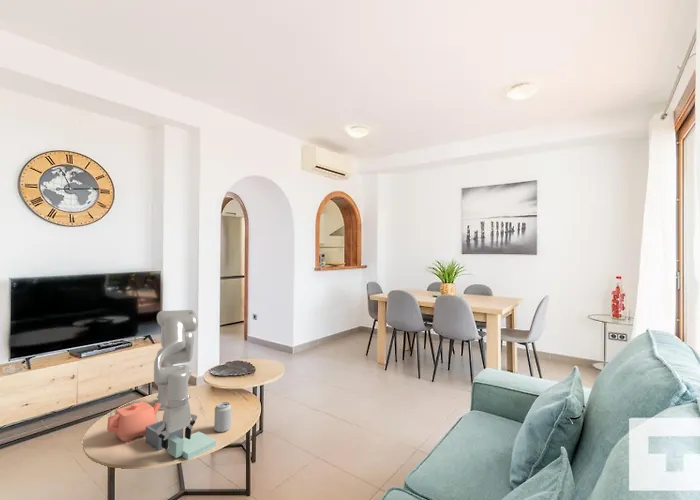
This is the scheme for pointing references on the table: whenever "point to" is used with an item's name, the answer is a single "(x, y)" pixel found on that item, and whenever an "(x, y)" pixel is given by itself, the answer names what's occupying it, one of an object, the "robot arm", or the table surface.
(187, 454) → the mint green stepped block
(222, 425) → the can
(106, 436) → the table surface
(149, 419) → the teapot
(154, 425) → the tub
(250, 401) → the table surface
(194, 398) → the table surface
